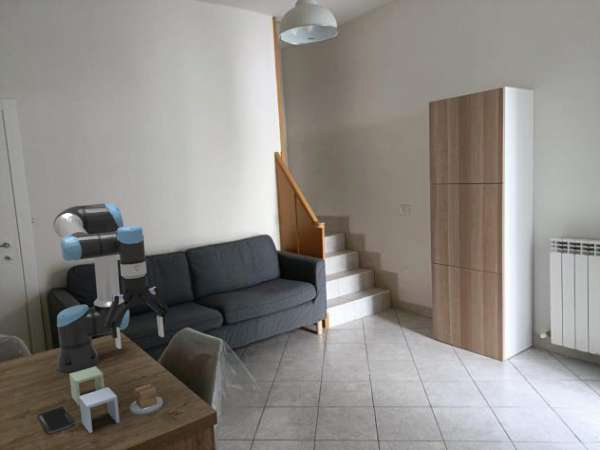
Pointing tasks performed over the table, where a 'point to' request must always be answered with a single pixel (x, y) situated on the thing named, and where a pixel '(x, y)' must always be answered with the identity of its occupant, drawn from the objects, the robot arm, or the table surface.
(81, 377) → the sage cover
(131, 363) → the table surface
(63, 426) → the phone
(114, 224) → the robot arm
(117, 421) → the blue cover
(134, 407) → the dish
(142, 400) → the walnut block
